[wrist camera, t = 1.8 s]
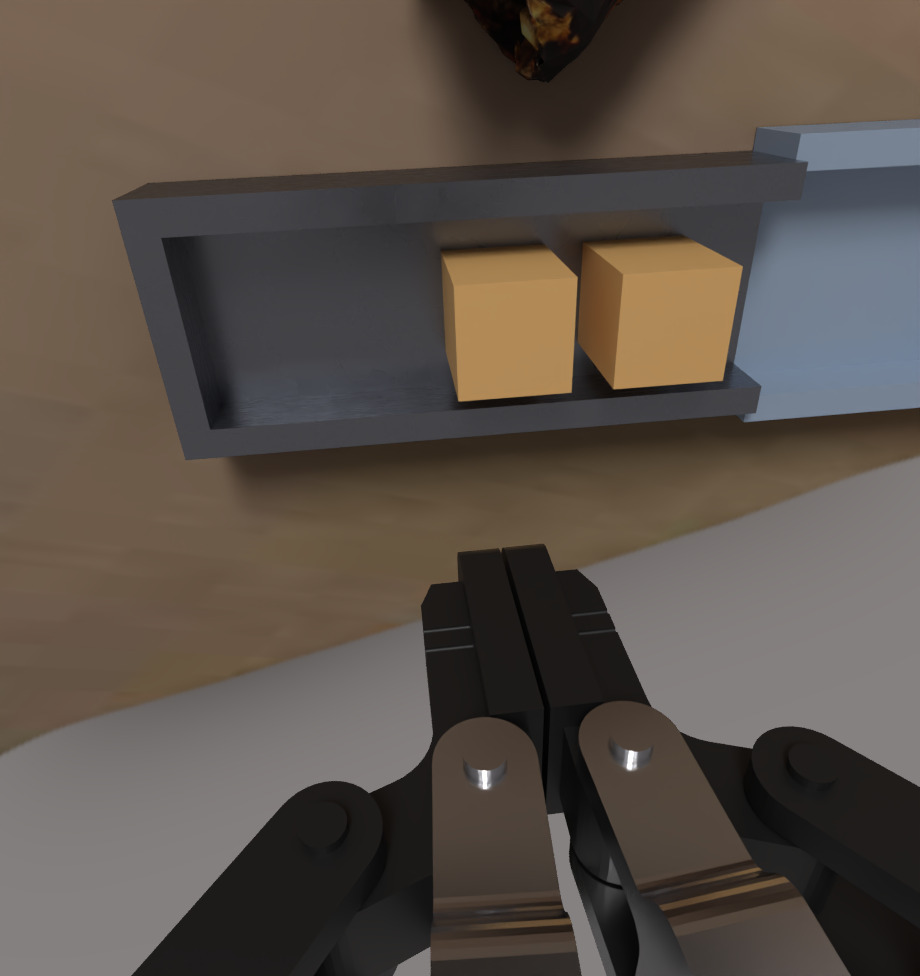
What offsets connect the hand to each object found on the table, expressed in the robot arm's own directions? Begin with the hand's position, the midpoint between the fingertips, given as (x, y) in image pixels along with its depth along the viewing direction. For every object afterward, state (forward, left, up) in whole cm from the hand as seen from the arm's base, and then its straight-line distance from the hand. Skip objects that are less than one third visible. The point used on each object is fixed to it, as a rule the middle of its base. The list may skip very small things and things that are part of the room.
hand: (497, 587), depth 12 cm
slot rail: (-2, 0, -19) cm, 19 cm away
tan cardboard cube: (-3, 0, -17) cm, 18 cm away
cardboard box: (-8, 0, -17) cm, 19 cm away
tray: (-19, 0, -19) cm, 27 cm away
